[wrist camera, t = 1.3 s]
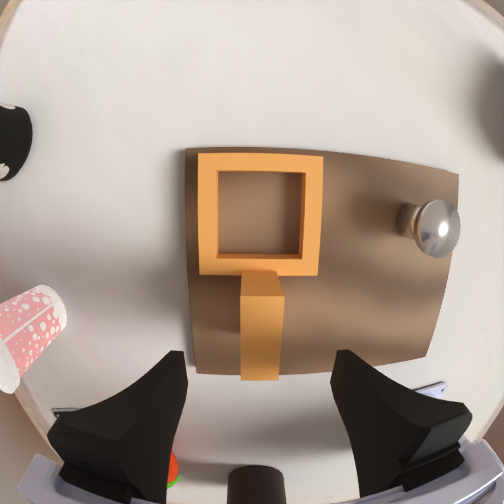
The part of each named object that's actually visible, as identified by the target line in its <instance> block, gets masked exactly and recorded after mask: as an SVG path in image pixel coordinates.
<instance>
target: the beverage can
mask: <svg viewBox="0 0 504 504" xmlns="http://www.w3.org/2000/svg"><path fill="white" fill-rule="evenodd" d="M31 143H32V124H31V121H30V117H29V114H28V113H27V111H26V110H25V109H23V108H21V107H17V106H13V105H8V104H4V103H0V181H5V180H9V179H11V178H12V177H13V176H15V175H16V173H17V172H18V171H19V169H20V168H21V167H22V166H23V164H24V162H25V161H26V159H27V156H28V154H29V151H30V147H31Z"/></svg>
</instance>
